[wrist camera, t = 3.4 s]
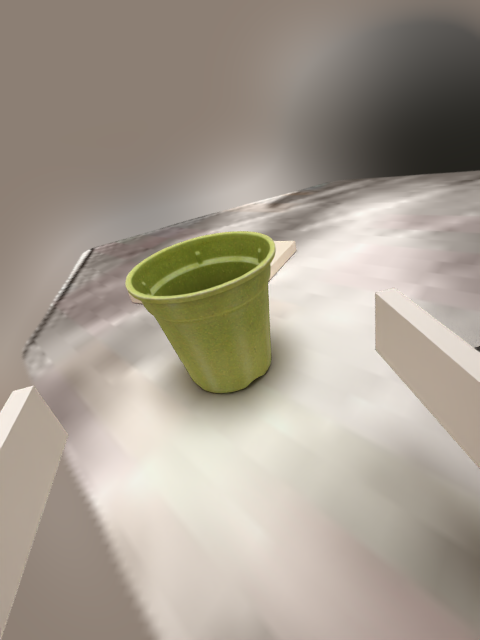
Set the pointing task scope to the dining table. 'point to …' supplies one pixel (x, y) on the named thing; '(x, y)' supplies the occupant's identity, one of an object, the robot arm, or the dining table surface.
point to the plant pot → (212, 305)
